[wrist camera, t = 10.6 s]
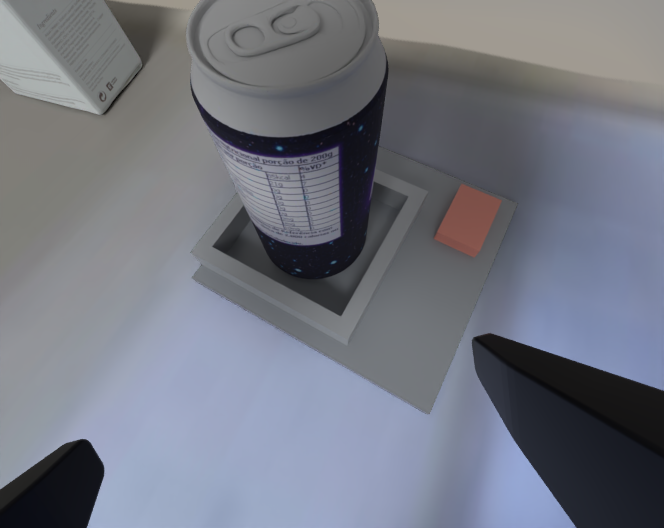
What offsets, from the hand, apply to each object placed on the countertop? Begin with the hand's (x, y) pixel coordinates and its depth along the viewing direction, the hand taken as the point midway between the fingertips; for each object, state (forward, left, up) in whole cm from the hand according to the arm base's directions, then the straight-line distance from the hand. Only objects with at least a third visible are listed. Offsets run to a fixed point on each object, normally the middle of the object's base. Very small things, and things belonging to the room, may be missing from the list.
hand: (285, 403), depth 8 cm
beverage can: (+4, -8, -9) cm, 13 cm away
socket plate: (+2, -9, -10) cm, 13 cm away
